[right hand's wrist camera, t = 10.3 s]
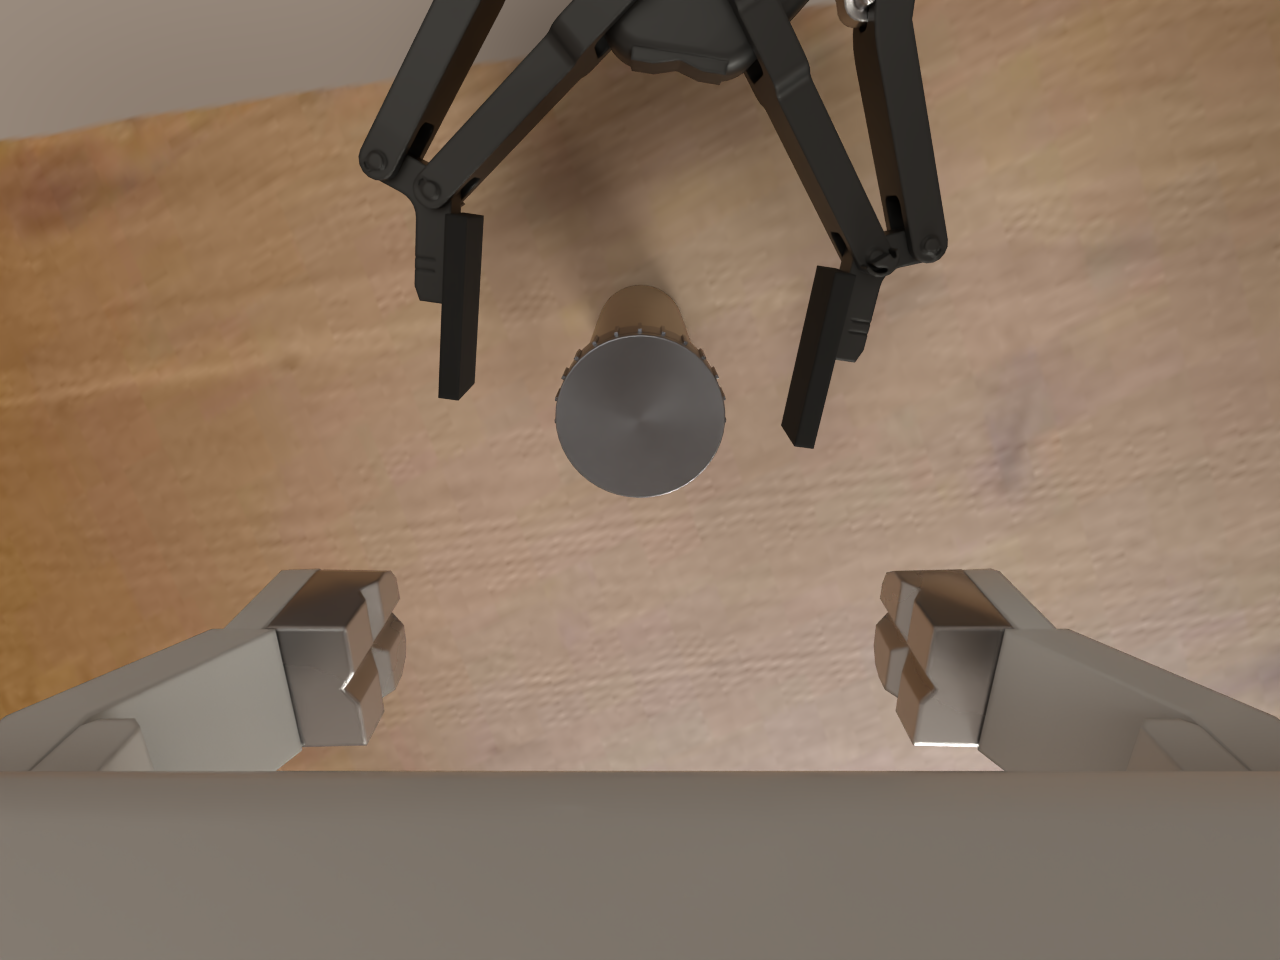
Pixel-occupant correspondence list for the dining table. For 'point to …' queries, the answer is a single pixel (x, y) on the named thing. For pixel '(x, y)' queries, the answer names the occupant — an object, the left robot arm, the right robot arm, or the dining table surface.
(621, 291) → the jar
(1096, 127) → the dining table surface
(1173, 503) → the dining table surface
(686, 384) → the lid
